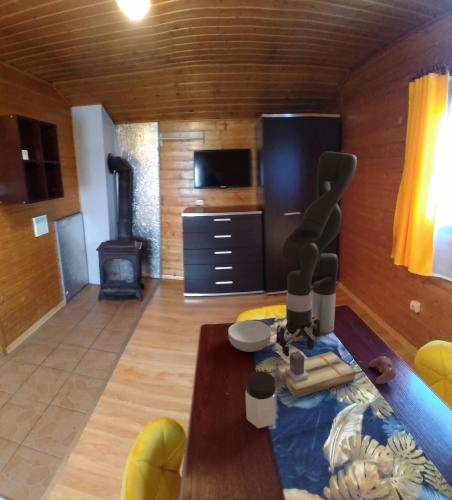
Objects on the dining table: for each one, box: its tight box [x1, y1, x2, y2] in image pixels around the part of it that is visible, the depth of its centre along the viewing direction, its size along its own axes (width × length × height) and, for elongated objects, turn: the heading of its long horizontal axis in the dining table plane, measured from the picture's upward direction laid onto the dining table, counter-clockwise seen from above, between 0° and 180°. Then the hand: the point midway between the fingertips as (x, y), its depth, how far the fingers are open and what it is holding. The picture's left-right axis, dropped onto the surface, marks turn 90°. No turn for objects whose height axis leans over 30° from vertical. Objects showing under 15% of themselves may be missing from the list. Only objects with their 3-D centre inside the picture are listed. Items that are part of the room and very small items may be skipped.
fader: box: [285, 350, 309, 381], centre depth 97 cm, size 6×5×7 cm
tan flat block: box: [276, 350, 356, 399], centre depth 101 cm, size 12×22×3 cm, turn 109°
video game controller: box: [368, 355, 397, 385], centre depth 100 cm, size 10×5×7 cm, turn 169°
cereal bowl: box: [227, 319, 272, 353], centre depth 119 cm, size 17×17×7 cm
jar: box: [245, 371, 277, 429], centre depth 85 cm, size 9×8×12 cm
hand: (298, 352), depth 96 cm, fingers open, 8 cm apart
